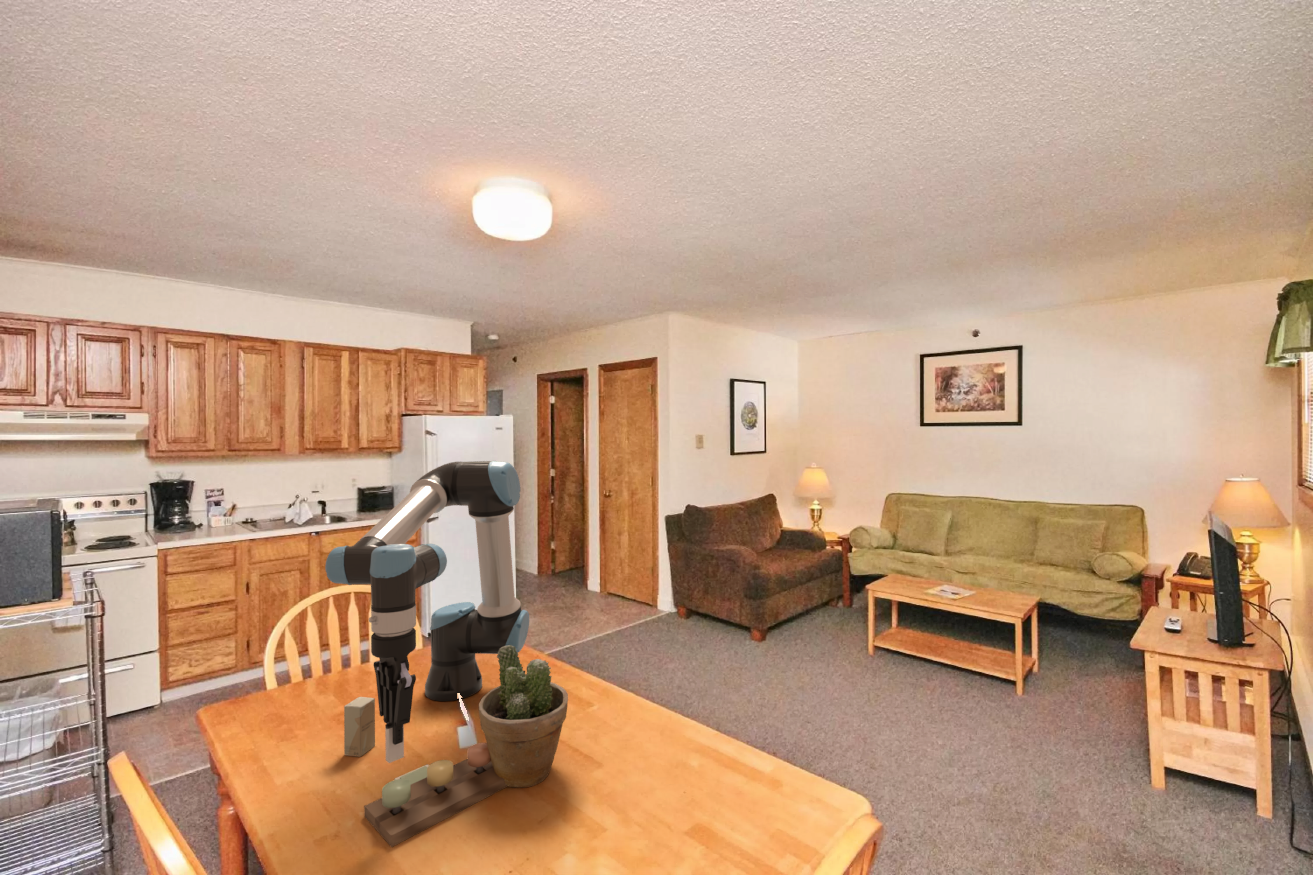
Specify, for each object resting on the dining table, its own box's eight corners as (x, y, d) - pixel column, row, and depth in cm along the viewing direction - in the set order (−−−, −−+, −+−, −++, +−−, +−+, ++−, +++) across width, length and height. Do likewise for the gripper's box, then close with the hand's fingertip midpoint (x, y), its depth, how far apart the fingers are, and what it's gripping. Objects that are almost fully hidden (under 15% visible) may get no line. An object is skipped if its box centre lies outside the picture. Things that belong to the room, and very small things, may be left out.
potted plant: (582, 756, 128) (583, 644, 128) (539, 809, 111) (540, 679, 110) (510, 741, 134) (511, 634, 134) (458, 788, 117) (459, 665, 116)
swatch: (427, 766, 125) (427, 762, 125) (442, 779, 120) (442, 775, 120) (394, 780, 120) (394, 777, 120) (409, 795, 115) (409, 791, 115)
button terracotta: (484, 761, 123) (483, 740, 123) (496, 770, 120) (496, 748, 120) (463, 771, 120) (462, 749, 120) (475, 780, 117) (474, 758, 117)
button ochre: (446, 779, 117) (445, 756, 117) (458, 789, 114) (457, 766, 114) (423, 790, 114) (422, 767, 114) (434, 801, 110) (434, 777, 110)
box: (360, 757, 129) (359, 707, 129) (343, 755, 130) (342, 706, 130) (376, 744, 134) (375, 697, 134) (360, 742, 135) (359, 695, 135)
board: (480, 761, 127) (479, 752, 127) (510, 784, 119) (510, 774, 118) (364, 816, 109) (364, 805, 109) (391, 846, 101) (391, 835, 101)
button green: (404, 799, 111) (403, 775, 111) (415, 810, 108) (414, 785, 108) (378, 811, 107) (377, 787, 107) (388, 823, 104) (388, 798, 104)
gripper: (358, 627, 109) (359, 753, 109) (387, 643, 100) (388, 781, 100) (399, 618, 114) (400, 738, 114) (429, 632, 105) (431, 763, 105)
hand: (394, 758), depth 107 cm, fingers closed
